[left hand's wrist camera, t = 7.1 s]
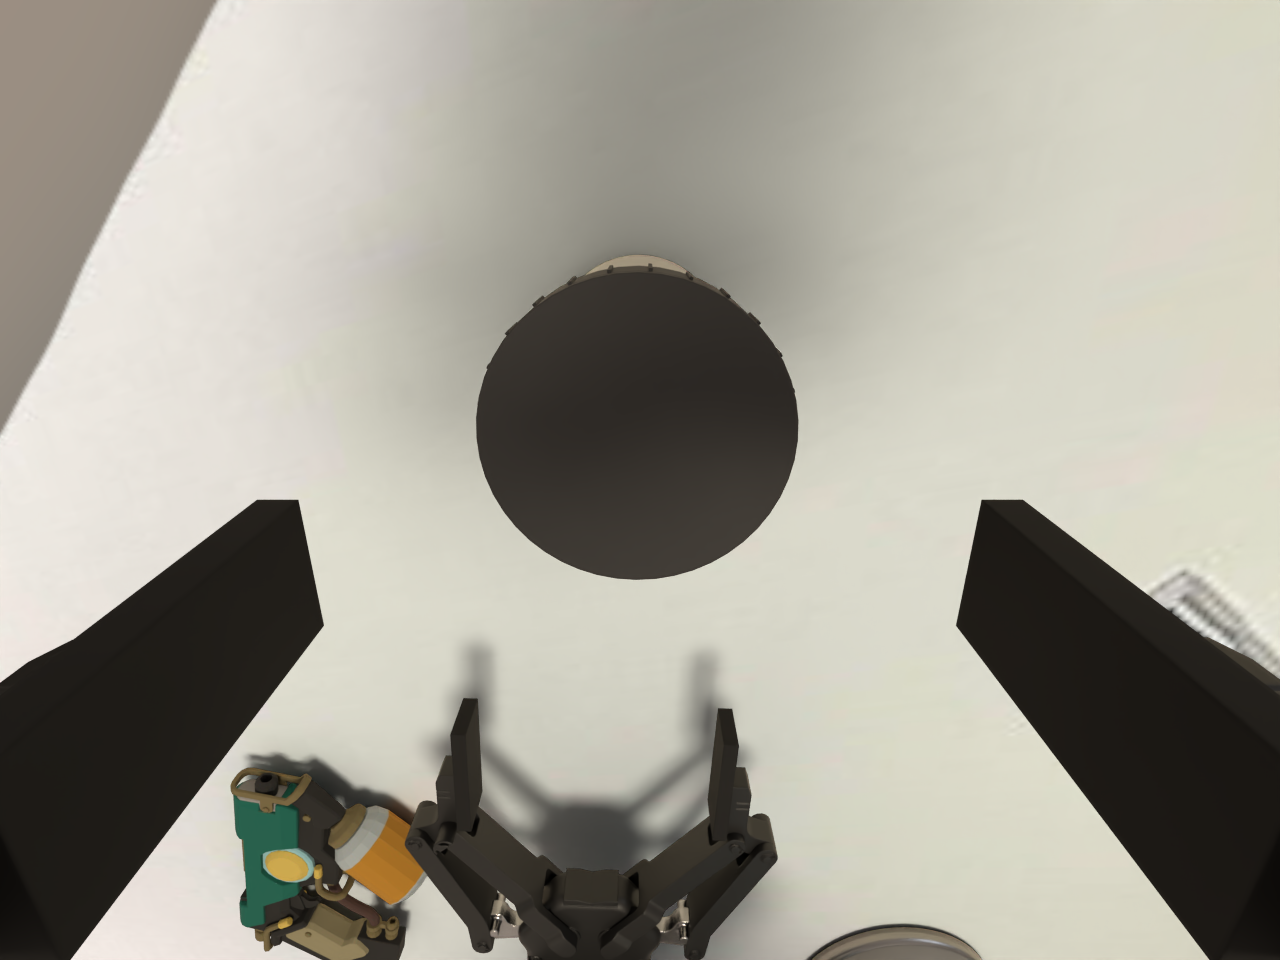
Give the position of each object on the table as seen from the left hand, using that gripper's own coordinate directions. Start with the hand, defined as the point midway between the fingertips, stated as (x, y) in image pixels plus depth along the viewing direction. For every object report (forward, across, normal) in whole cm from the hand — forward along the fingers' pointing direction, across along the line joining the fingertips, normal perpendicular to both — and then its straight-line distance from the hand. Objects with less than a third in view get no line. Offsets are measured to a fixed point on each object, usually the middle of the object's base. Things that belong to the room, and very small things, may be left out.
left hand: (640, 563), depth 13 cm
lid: (+8, 0, 0) cm, 8 cm away
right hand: (+17, +2, +18) cm, 25 cm away
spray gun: (+23, +22, +36) cm, 48 cm away
